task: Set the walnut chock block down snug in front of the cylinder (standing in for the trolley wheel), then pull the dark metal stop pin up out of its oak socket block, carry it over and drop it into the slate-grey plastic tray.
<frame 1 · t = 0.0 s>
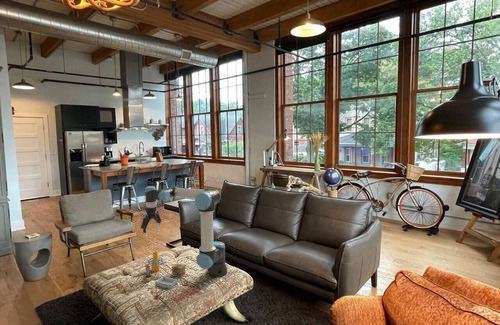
hand: (151, 233, 225), 28 cm above the table, fingers open, 13 cm apart
chock: (178, 274, 218), on the table
tray: (166, 284, 203), on the table
socket block: (148, 279, 211), on the table
stop pin: (148, 272, 210), in the socket block
cylinder: (156, 270, 226), on the table
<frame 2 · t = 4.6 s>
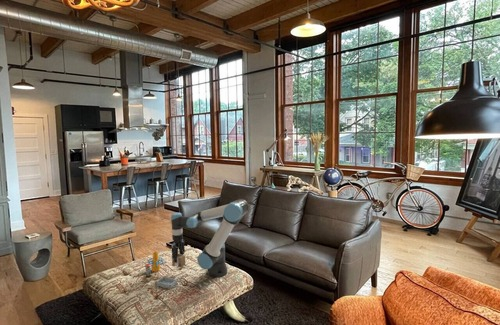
hand: (179, 264, 217), 8 cm above the table, fingers closed on chock, 5 cm apart
chock: (178, 265, 217), point 7 cm above the table, touching gripper
everything else where it was.
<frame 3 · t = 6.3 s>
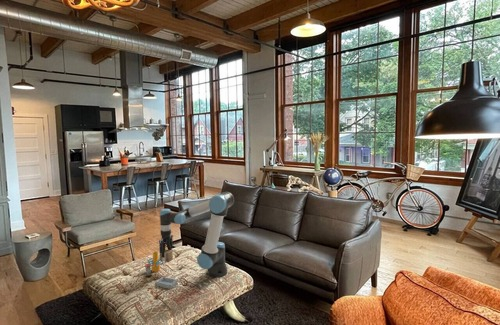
hand: (166, 259, 221), 10 cm above the table, fingers closed on chock, 5 cm apart
chock: (166, 260, 221), point 10 cm above the table, touching gripper
everything else where it was.
when the fingers open (0 cm above the table, at t = 8.2 s): chock stays where it is, on the table.
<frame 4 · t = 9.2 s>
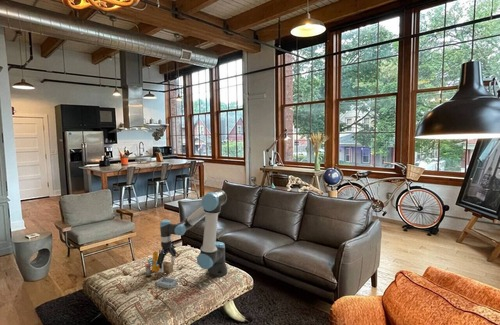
hand: (167, 268, 221), 3 cm above the table, fingers open, 13 cm apart
chock: (166, 272, 222), on the table
everything else where it was.
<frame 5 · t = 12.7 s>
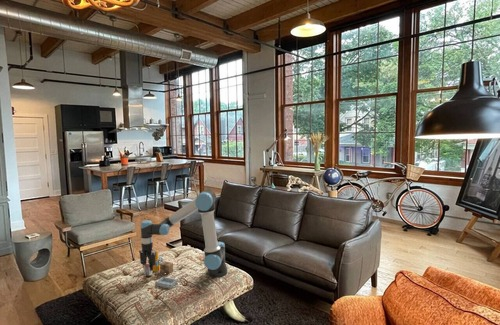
hand: (148, 274, 210), 4 cm above the table, fingers closed on stop pin, 4 cm apart
stop pin: (148, 272, 210), in the socket block, touching gripper
everything else where it was.
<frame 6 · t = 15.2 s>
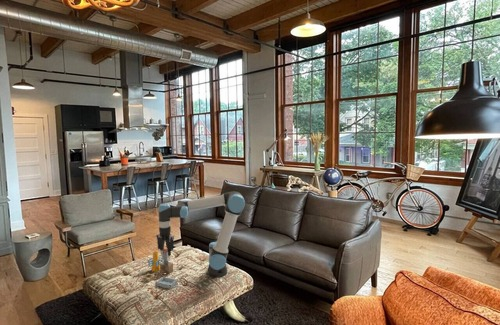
hand: (165, 259, 202), 18 cm above the table, fingers closed on stop pin, 4 cm apart
stop pin: (165, 257, 202), point 19 cm above the table, touching gripper
everything else where it was.
when the fingers open (6 cm above the table, at t = 17.5 s): stop pin drops 1 cm, resting on tray.
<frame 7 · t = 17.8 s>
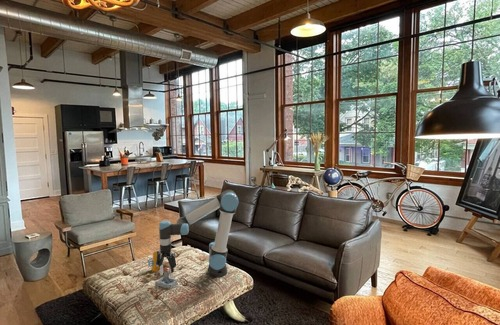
hand: (166, 275, 203), 6 cm above the table, fingers open, 8 cm apart
stop pin: (166, 276, 203), in the tray, point 6 cm above the table
everything else where it was.
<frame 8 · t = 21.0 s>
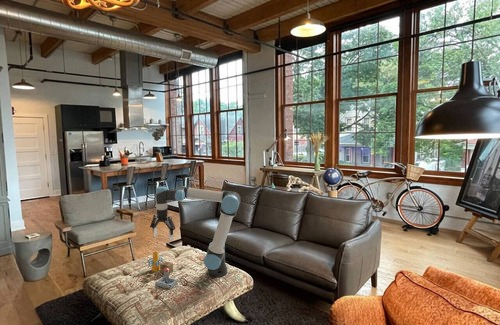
hand: (163, 238, 207), 31 cm above the table, fingers open, 13 cm apart
nothing on the table moved.
at the end: chock inside the target area (0.1 cm from its centre), on the table; chock 10.1 cm from the cylinder (horizontally); stop pin inside the target area on the tray (0.2 cm from its centre), point 6.1 cm above the tray's base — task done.
